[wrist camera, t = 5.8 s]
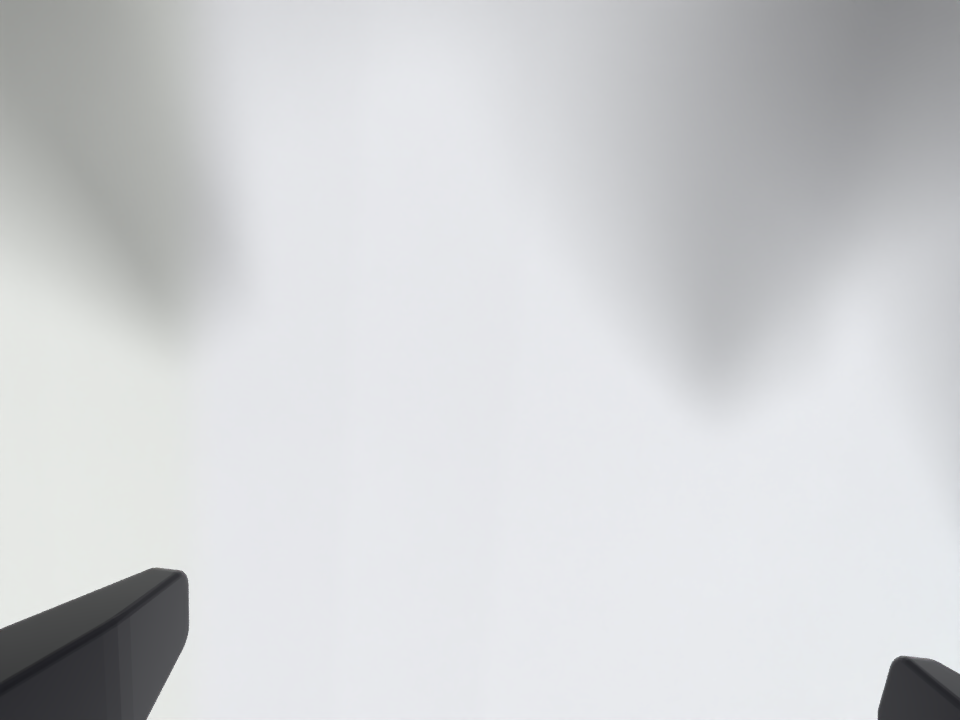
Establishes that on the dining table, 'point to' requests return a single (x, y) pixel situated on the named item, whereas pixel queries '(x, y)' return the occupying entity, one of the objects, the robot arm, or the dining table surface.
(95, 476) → the dining table surface
